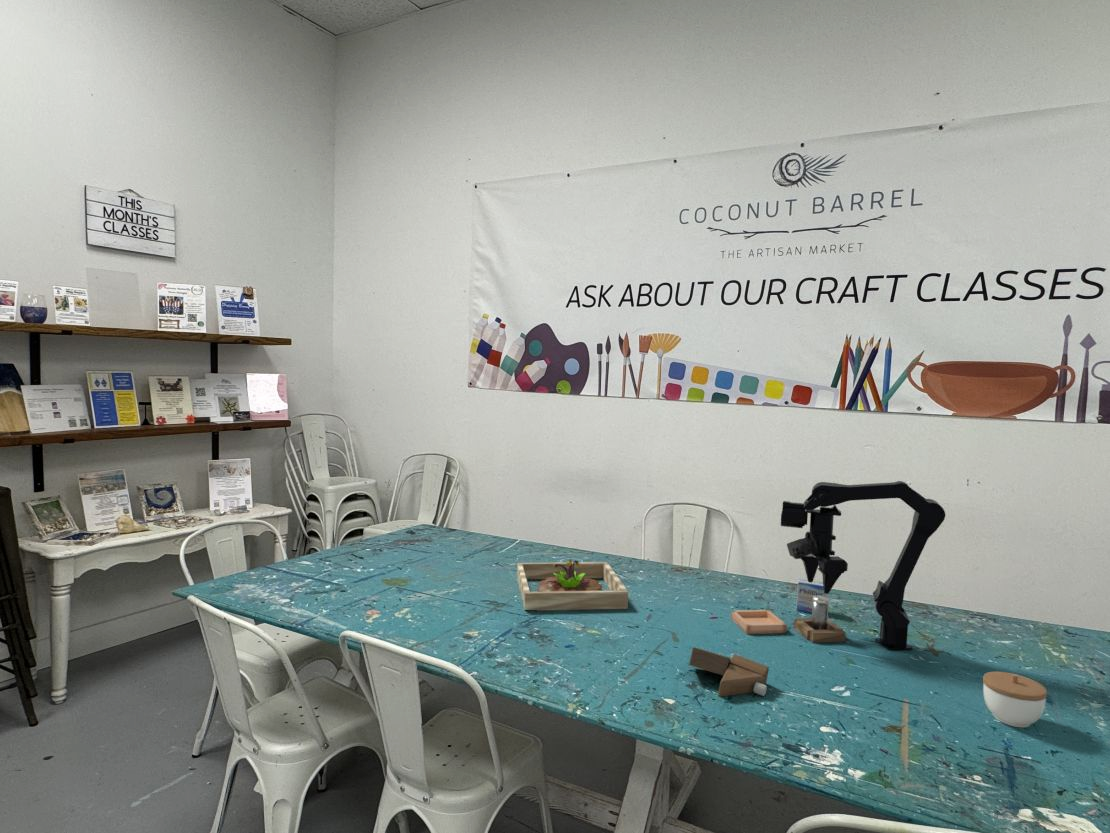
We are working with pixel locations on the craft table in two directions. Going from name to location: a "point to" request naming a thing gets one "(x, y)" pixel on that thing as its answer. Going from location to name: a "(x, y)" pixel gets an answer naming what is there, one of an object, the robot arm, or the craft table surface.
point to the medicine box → (808, 594)
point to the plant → (569, 581)
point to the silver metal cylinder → (820, 612)
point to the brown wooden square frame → (819, 631)
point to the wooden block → (732, 672)
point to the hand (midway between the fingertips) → (818, 587)
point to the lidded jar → (1014, 698)
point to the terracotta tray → (758, 622)
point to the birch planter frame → (571, 599)
